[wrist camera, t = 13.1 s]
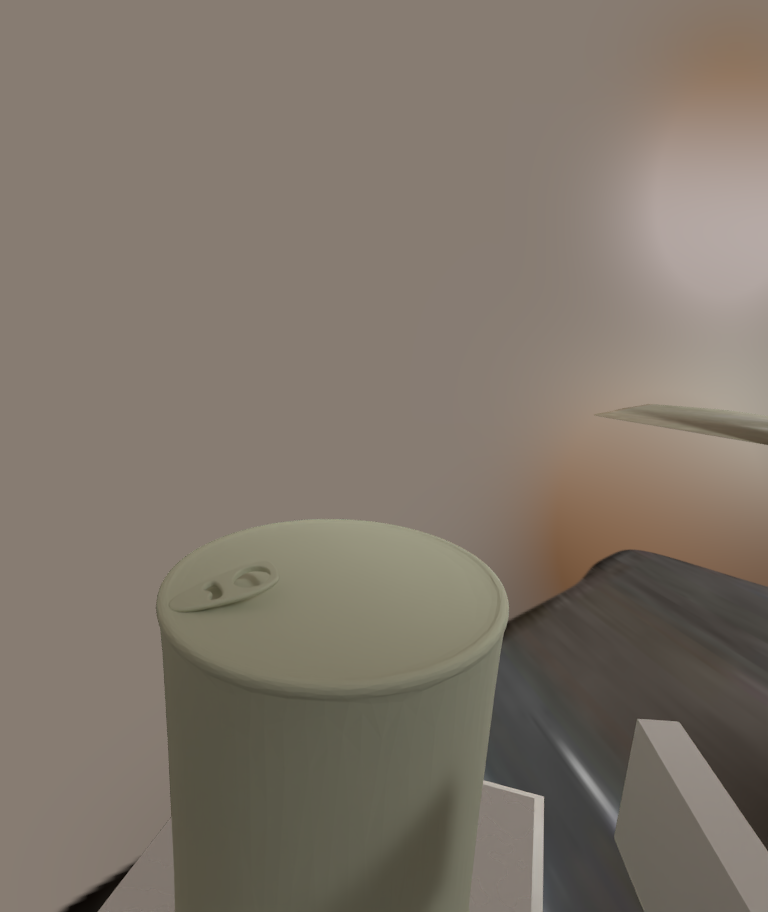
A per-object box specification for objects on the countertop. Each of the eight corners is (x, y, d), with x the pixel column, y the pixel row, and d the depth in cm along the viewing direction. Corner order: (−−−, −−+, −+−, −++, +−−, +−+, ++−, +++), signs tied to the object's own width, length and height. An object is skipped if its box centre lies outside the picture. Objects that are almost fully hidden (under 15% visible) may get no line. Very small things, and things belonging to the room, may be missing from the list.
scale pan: (529, 792, 25) (536, 746, 25) (502, 1445, 11) (516, 1373, 10) (275, 723, 29) (275, 681, 28) (-18, 1144, 14) (-30, 1076, 13)
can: (158, 837, 20) (141, 520, 17) (388, 759, 24) (407, 494, 21) (194, 1205, 12) (175, 719, 9) (533, 992, 16) (596, 613, 13)
